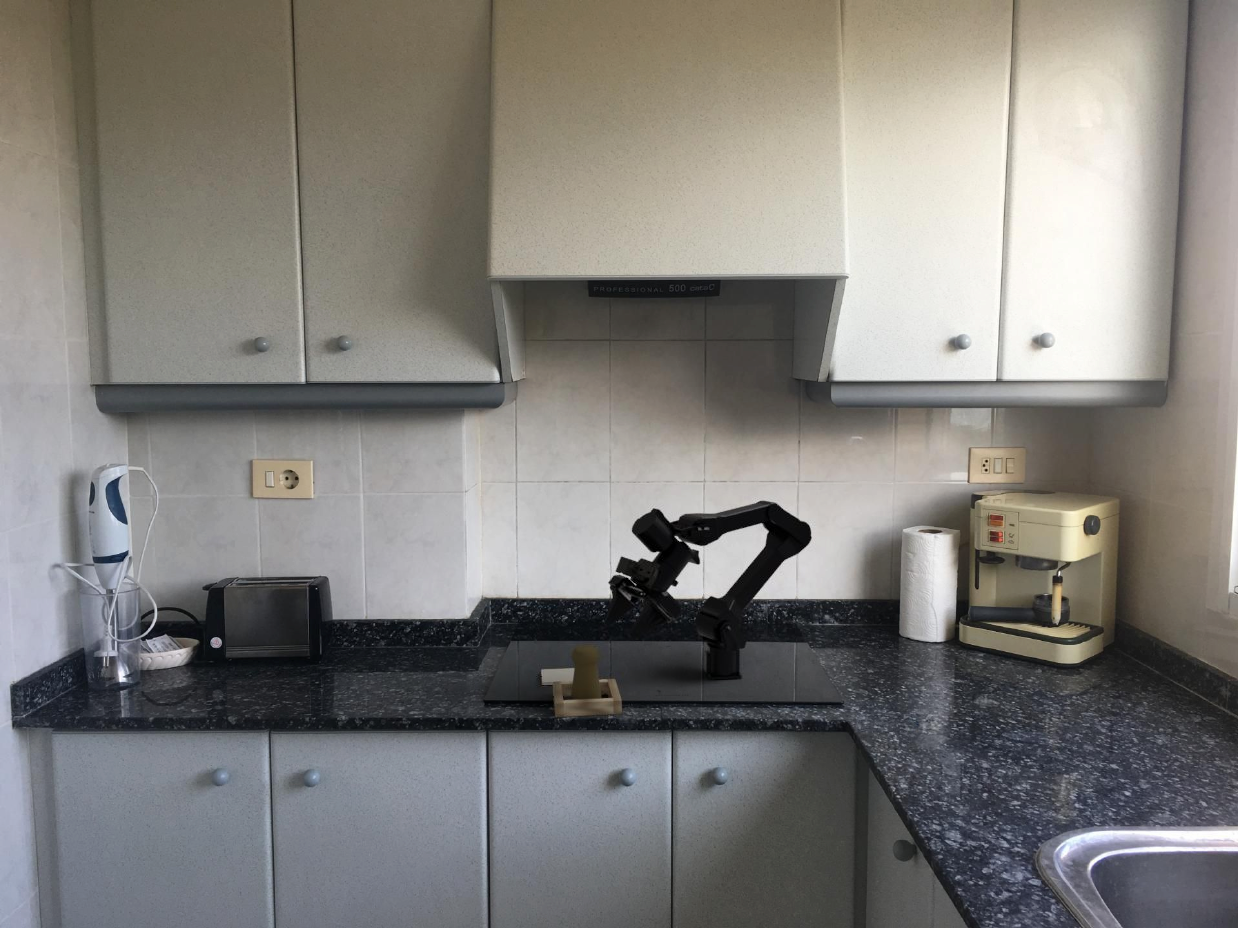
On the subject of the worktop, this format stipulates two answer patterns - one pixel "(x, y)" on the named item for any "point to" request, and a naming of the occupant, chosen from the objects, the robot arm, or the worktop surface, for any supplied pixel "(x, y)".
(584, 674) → the olive knobbed peg
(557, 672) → the cream tile
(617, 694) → the oak collar
